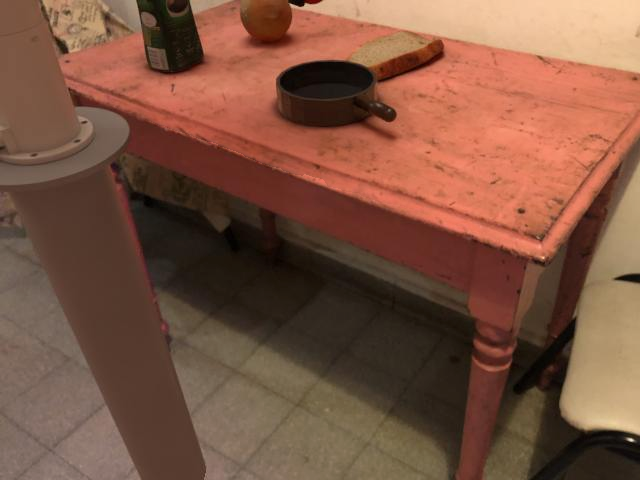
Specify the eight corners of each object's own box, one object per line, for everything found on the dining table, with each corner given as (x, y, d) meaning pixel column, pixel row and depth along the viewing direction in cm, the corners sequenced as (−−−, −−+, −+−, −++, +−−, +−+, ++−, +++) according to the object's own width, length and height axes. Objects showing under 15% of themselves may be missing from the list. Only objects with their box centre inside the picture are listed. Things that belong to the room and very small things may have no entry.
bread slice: (344, 85, 97) (343, 62, 94) (344, 45, 110) (343, 25, 108) (454, 82, 97) (456, 60, 94) (440, 43, 110) (441, 23, 108)
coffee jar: (180, 51, 110) (158, -61, 98) (211, 59, 106) (192, -55, 94) (140, 68, 104) (110, -48, 92) (171, 77, 100) (144, -42, 88)
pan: (318, 136, 83) (316, 110, 81) (259, 102, 92) (256, 77, 90) (397, 105, 90) (398, 80, 88) (335, 76, 100) (334, 52, 97)
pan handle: (388, 126, 80) (389, 112, 79) (351, 107, 85) (351, 93, 84) (399, 121, 81) (400, 108, 80) (361, 103, 86) (361, 90, 85)
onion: (232, 42, 113) (224, -14, 107) (269, 28, 119) (263, -26, 113) (267, 53, 108) (261, -5, 102) (304, 38, 114) (300, -18, 108)
